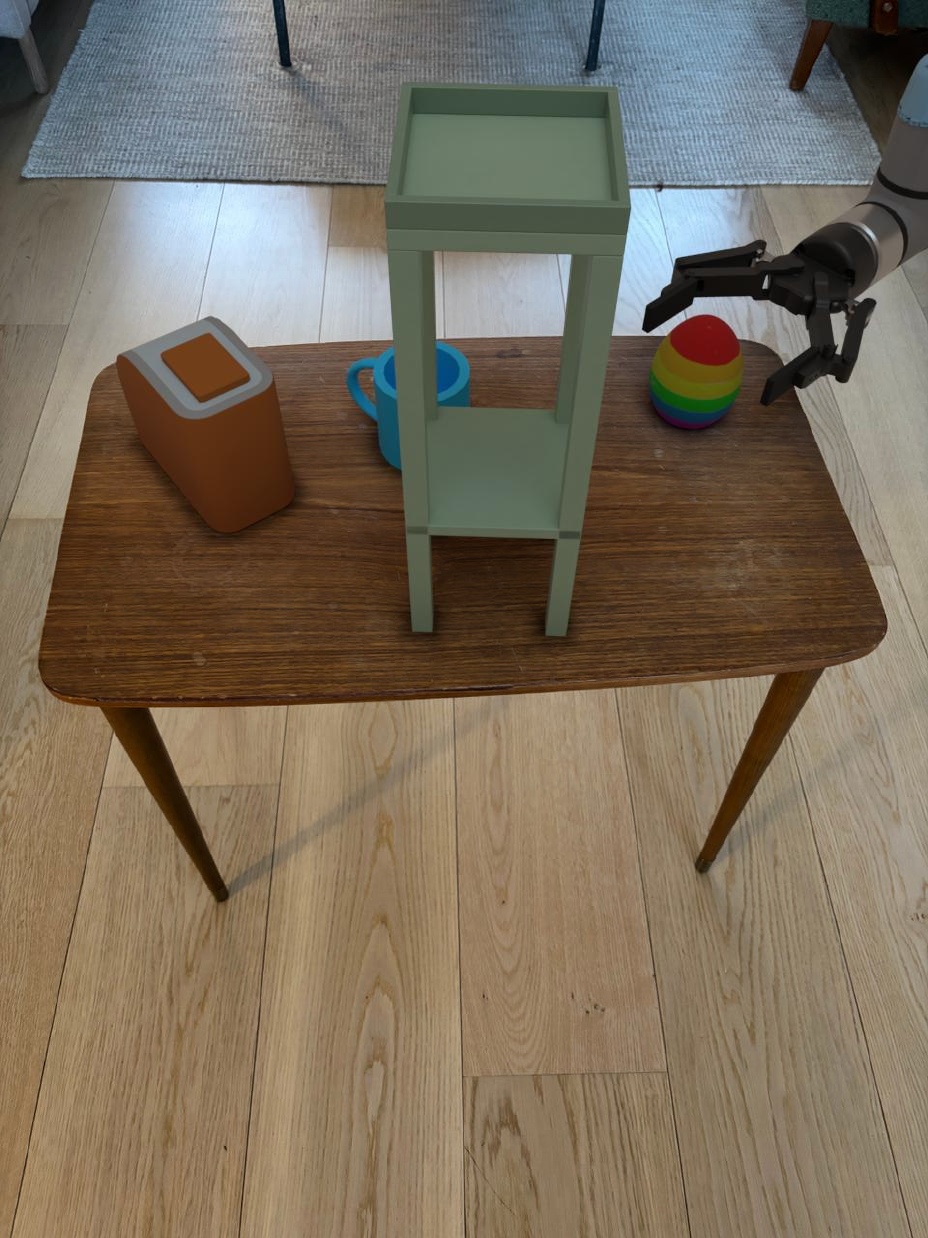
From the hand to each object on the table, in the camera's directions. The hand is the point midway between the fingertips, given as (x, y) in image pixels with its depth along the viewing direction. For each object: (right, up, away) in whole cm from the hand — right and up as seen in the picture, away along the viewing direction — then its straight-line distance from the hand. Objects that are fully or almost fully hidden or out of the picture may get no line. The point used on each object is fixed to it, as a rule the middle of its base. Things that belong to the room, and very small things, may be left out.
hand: (704, 355), depth 88 cm
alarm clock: (-43, -10, 0) cm, 44 cm away
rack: (-19, -20, -7) cm, 29 cm away
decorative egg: (0, -4, +5) cm, 6 cm away
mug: (-27, -7, +2) cm, 28 cm away
